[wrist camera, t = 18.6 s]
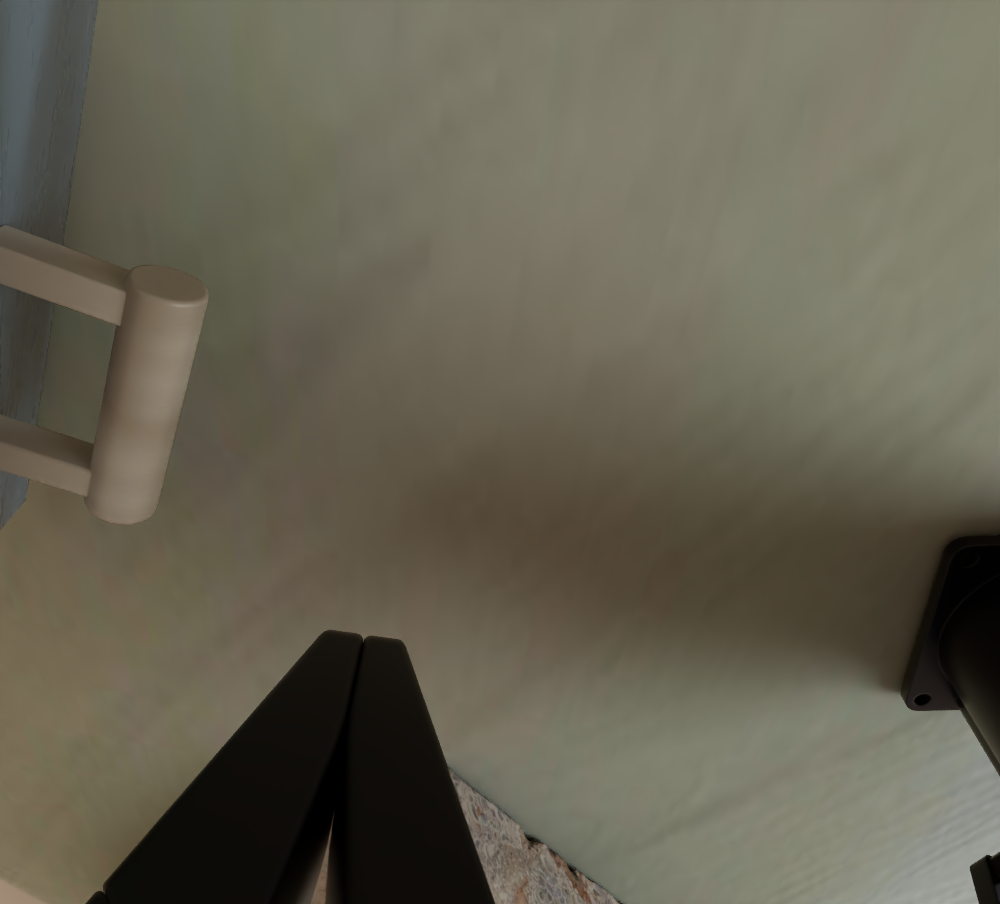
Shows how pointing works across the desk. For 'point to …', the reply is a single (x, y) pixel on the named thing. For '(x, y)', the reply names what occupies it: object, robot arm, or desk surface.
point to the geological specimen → (510, 860)
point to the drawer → (77, 288)
